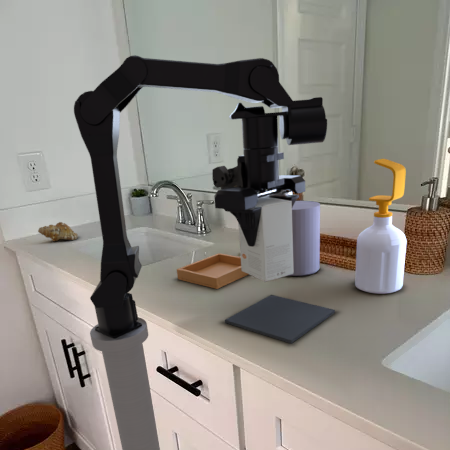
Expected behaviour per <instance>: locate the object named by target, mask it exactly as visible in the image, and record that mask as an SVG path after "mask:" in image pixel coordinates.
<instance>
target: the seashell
mask: <svg viewBox="0 0 450 450" xmlns="http://www.w3.org/2000/svg"><path fill="white" fill-rule="evenodd" d="M37 233H39V234H40V235H42V236H44V237H45V238H48V239H51V240H52V242H59V241H60V240H67V241H68V240H69V241H74V240H77V239H78V237H79V235H78V233H77V232H74V230H73V229H72V228H71V227H70V226H69V225H68V224H67V223H65V222H62V221H59V222H57V223H56V224H55V225H54V224H49V225H44V226H41V227H40V226H39V228H38V230H37Z"/></svg>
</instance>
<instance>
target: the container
mask: <svg viewBox="0 0 450 450" xmlns="http://www.w3.org/2000/svg"><path fill="white" fill-rule="evenodd" d="M292 232H293V269H294V273H293V274H291V275H287V276H286V277H306V276H310V275H314V274H315V273H317V272H318V271H319V270H320V264H321V263H320V257H321V256H320V255H321V254H320V253H321V250H320V248H321V203H320V202H317V201H313V200H296V201H295V203H294V205H293V207H292Z"/></svg>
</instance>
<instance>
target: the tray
mask: <svg viewBox="0 0 450 450" xmlns="http://www.w3.org/2000/svg"><path fill="white" fill-rule="evenodd" d="M248 275H250V274H247V273H245V272H243V271H242V270H241V256H238V255H231V254H226V253H221V252H218V253H216V254H213V255H210V256H208V257H205V258H202V259H200V260H197V261H194V262H192V263H188V264H186V265H184V266H181V267H178V268H176V276H177V280H179V281H182V282H183V281H184V282H187V283H191V284H195V285H200V286H203V287H207V288H210V289H216V290H218V289H220V288H222V287H225V286H227V285H229V284H231V283H233V282H235V281H238V280H240V279H242V278H245V277H247V276H248Z"/></svg>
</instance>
